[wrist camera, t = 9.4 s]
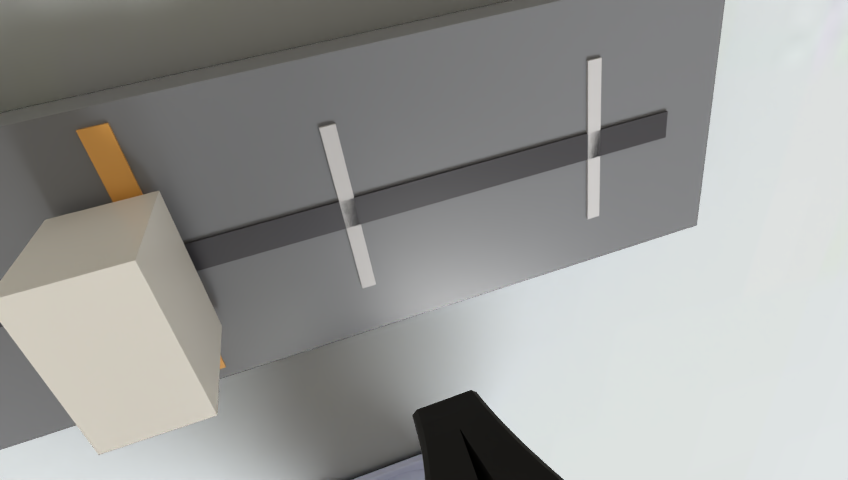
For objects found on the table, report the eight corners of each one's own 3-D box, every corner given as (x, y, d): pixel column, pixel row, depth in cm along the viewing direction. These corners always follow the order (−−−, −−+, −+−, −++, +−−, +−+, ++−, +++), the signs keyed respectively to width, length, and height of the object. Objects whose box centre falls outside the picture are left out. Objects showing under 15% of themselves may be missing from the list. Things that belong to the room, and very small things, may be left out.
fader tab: (222, 325, 17) (217, 415, 14) (126, 354, 17) (98, 454, 14) (159, 190, 15) (135, 260, 12) (44, 219, 14) (-16, 301, 11)
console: (664, 206, 24) (698, 226, 22) (-2, 413, 19) (-26, 460, 17) (686, -39, 19) (731, -38, 17) (-215, 160, 14) (-280, 189, 12)
